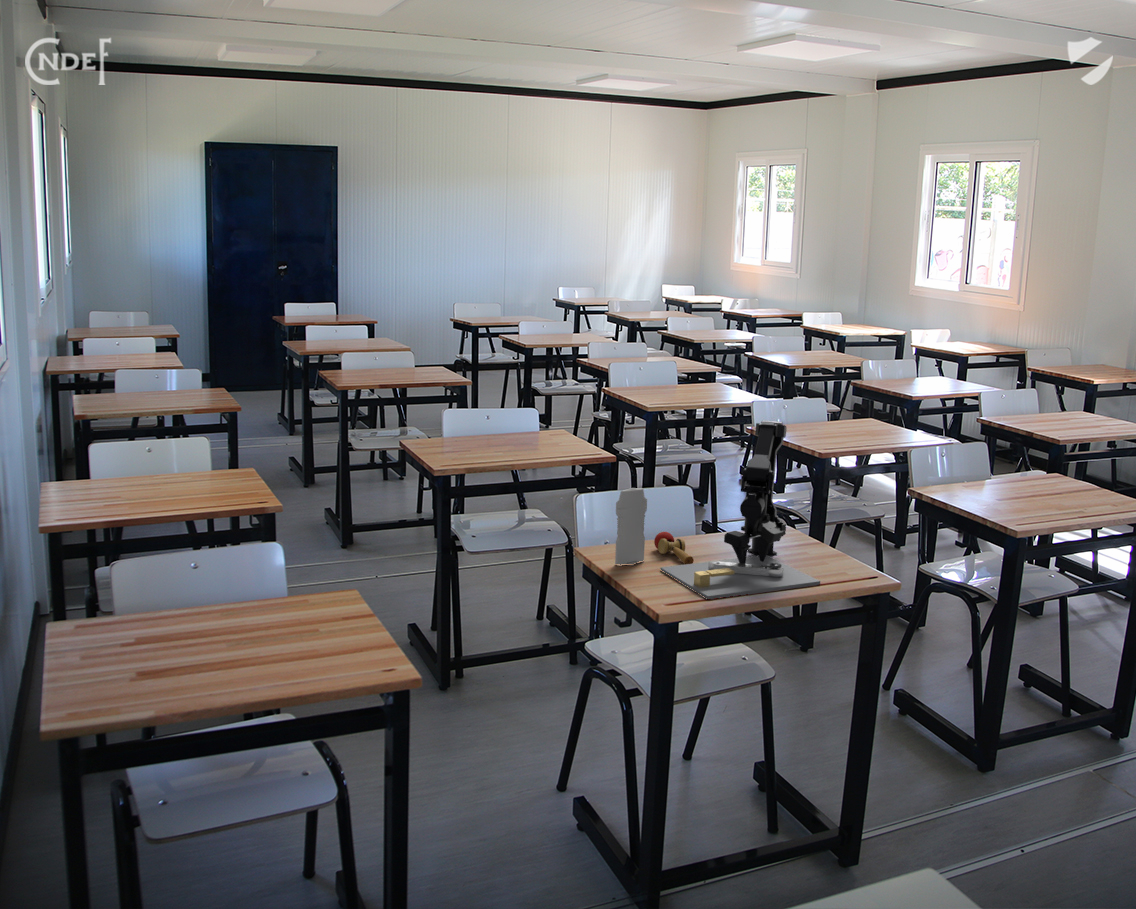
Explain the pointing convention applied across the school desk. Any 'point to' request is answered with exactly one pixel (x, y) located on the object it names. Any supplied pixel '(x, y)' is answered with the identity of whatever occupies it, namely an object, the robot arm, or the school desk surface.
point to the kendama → (672, 546)
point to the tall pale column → (630, 526)
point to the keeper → (704, 577)
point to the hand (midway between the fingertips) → (752, 563)
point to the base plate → (740, 579)
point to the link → (747, 569)
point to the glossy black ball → (775, 565)
